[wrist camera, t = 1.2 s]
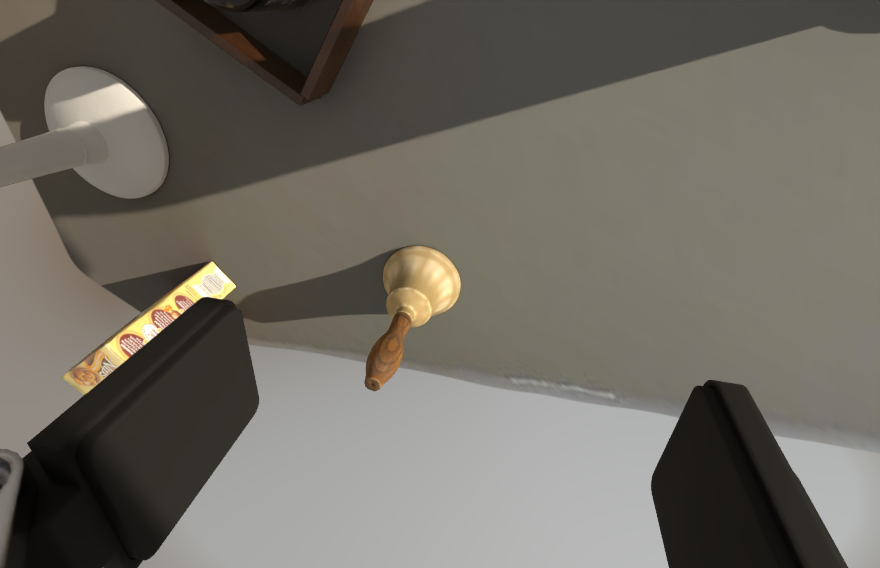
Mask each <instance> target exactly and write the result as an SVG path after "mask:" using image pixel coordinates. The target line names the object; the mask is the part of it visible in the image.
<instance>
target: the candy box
mask: <svg viewBox="0 0 880 568" xmlns="http://www.w3.org/2000/svg"><path fill="white" fill-rule="evenodd" d="M235 287H236V285H235V284H234V283H233V282H232V281H231V280H230V279H229V278H228V277H227V276H226V275H225V274H224V273H223V272H222V271H221V270H220V269H219V268H218V267H217V266H216V265H215V263H214V262H210V263H208V264H207V265H205V266H204V267H203V268H201V269H200V270H199V271H197V272H196V273H194V274H193V275H192V276H190V277H189V278H188V279H186V280H185V281H183V282H182V283H181V284H179V285H178V286H177V287H175V288H174V289H172V290H171V291H170V292H168V293H167V294H166V295H164V296H163V297H162V298H160V299H159V300H158V301H156V302H155V303H154V304H152V305H151V306H150V307H148V308H147V309H146V310H145V311H143V312H142V313H141V314H140V315H138V316H137V317H135V318H134V319H133V320H132V321H130V322H129V323H128V324H126V325H125V326H124V327H123V328H121V329H120V330H119V331H118V332H116V333H115V334H114V335H112V336H111V337H110V338H109V339H107V340H106V341H105V342H104V343H102V344H101V345H100V346H99V347H97V348H96V349H95V350H94V351H92V352H91V353H90V354H89V355H88V356H86V357H85V358H84V359H82V360H81V361H80V362H79V363H78V364H76V365H75V366H74V367H73V368H72V369H70V370H69V371H68V372H66V373H65V374H64V375H63V376H62V378H63V379H65V380H66V381H67V382H68V383H69V384H71V385H72V386H73V387H74V388H75V389H77V390H78V391H79V392H81V393H82V394H83V395H85V394H87V393H88V392H89V391H90V390H91V389H93V388H94V387H95V386H96V385H97V384H98V383H100V382H101V381H102V380H103V379H104V378H106V377H107V376H108V375H109V374H110V373H112V372H113V371H114V370H115V369H116V368H118V367H119V366H120V365H121V364H122V363H124V362H125V361H126V360H127V359H128V358H130V357H131V356H132V355H133V354H134V353H136V352H137V351H138V350H139V349H140V348H142V347H143V346H144V345H145V344H146V343H148V342H149V341H150V340H151V339H152V338H154V337H155V336H156V335H157V334H158V333H159V332H161V331H162V330H163V329H164V328H165V327H167V326H168V325H169V324H170V323H171V322H173V321H174V320H175V319H176V318H177V317H179V316H180V315H181V314H182V313H183V312H185V311H186V310H187V309H188V308H189V307H191V306H192V305H193V304H194V303H195V302H197V301H198V300H199V299H201V298H202V297H211V298H217V299H223V298H224V297H225V296H226V295H228V294H229V293H230V292H231V291H232V290H233V289H234V288H235Z"/></svg>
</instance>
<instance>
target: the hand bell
mask: <svg viewBox="0 0 880 568" xmlns="http://www.w3.org/2000/svg"><path fill="white" fill-rule="evenodd" d="M383 282H384V287H385V289H386V292H387V294H388V298H387V302H386V307H387V311H388V313H389V315H390V317H391V318H392V319H393V320H392V323H391V325H390V328H389V330H388V331H387V333H386V334H384V335H383V336H382V337H381V338H379V340H378V341H377V342H376V343H375V345H374V346H373V348H372V349H371V351H370V353H369V356H368V359H367V363H366V379H365V386H366V387H367V388H368V389H370V390H373V391H377V390H379V389H380V388H381V387H382V386H383V384H384V383H386V382H387V381H388V380H389V379H390V378H391V377H392V376H393V375H394V374H395V372H396V371H397V369H398V367H399V365H400V362H401V359H402V356H403V350H404V343H403V341H404V337H405V335H406V333H407V331H408V329H409V327H418V326H421V325H423V324H425V323H426V322H427V321H428V320H429V318H430V316H433V315H437V314H440V313H443V312H445V311H446V310H448V309H449V308H450V307H452V306H453V304H454V303H455V302H456V300H457V298H458V296H459V293H460V285H461V283H460V277H459V274H458V272H457V270H456V268H455V266H454V265H453V263H452V262H451V261H450V260H449V259H448V258H447V257H446V256H445V255H443V254H442V253H440V252H438V251H436V250H434V249H432V248H428V247H424V246H410V247H405V248H402V249H400V250H398V251H396V252H395V253H394V254H392V255H391V256H390V258H389V259H388V260H387V262H386V264H385V266H384V270H383Z"/></svg>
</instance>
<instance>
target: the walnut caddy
mask: <svg viewBox="0 0 880 568" xmlns="http://www.w3.org/2000/svg"><path fill="white" fill-rule="evenodd" d="M155 1H157V2H158V3H160V4H161V5H162V6H164V7H165V8H166V9H168V10H169V11H171V12H172V13H173V14H175V15H176V16H177V17H179V18H180V19H182V20H183V21H184V22H186V23H187V24H188V25H190V26H191V27H193V28H194V29H195V30H197V31H198V32H199V33H201V34H202V35H204V36H205V37H206V38H208V39H209V40H210V41H212V42H213V43H215V44H216V45H217V46H219V47H220V48H221V49H223V50H224V51H225V52H227V53H228V54H230V55H231V56H232V57H234V58H235V59H236V60H238V61H239V62H241V63H242V64H243V65H245V66H246V67H247V68H249V69H250V70H252V71H253V72H254V73H256V74H257V75H258V76H260V77H261V78H263V79H264V80H265V81H267V82H268V83H269V84H271V85H272V86H274V87H275V88H276V89H278V90H279V91H280V92H282V93H283V94H285V95H286V96H287V97H289V98H290V99H291V100H293V101H294V102H295V103H297V104H298V105H303V104H306V103H308V102H311V101H313V100H316V99H319V98H321V96H322V95H323V94H326V93H328V92H329V90H330V88H331V86H332V84H333V82H334V80H335V78H336V76H337V74H338V72H339V70H340V68H341V65H342V63H343V61H344V59H345V57H346V55H347V53H348V51H349V49H350V47H351V45H352V43H353V41H354V39H355V37H356V35H357V33H358V31H359V28H360V26H361V24H362V22H363V20H364V18H365V16H366V14H367V12H368V10H369V8H370V6H371V4H372V2H373V0H342V2H341V4H340V6H339V9H338V11H337V13H336V15H335V18H334V20H333V22H332V24H331V26H330V29H329V31H328V33H327V35H326V38H325V40H324V42H323V44H322V46H321V49H320V51H319V53H318V55H317V58H316V60H315V62H314V64H313V66H312V69H311V71H310V73H309V75H308V78H307V77H306V76H304V75H303V74H302V73H300V72H299V71H298V70H296V69H295V68H293V67H292V66H291V65H289V64H288V63H287V62H285V61H284V60H283V59H281V58H280V57H279V56H277V55H276V54H275V53H273V52H272V51H271V50H269V49H268V48H266V47H265V46H264V45H262V44H261V43H260V42H258V41H257V40H256V39H254V38H253V37H252V36H250V35H249V34H248V33H246V32H245V31H244V30H242V29H241V28H240V27H238V26H237V25H235V24H234V23H233V22H231V21H230V20H229V19H227V18H226V17H225V16H223V15H222V14H221V13H219V12H218V11H217V10H215V9H214V8H213V7H211V6H210V5H208V4H207V3H205V2H204V1H202V0H155Z"/></svg>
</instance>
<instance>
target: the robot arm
mask: <svg viewBox="0 0 880 568" xmlns="http://www.w3.org/2000/svg"><path fill="white" fill-rule="evenodd" d="M258 404H259V395H258V390H257V385H256V380H255V376H254V370H253V366H252V361H251V356H250V352H249V346H248V341H247V336H246V331H245V326H244V321H243V316H242V313H241V311H240V310H239V309H237V308H236V306H235V304H234V303H233V302H232V301H229V300H223V299H217V298H211V297H202V298H201V299H199V300H198V301H197V302H195V303H194V304H193V305H192V306H191V307H189V308H188V309H187V310H186V311H185V312H183V313H182V314H181V315H180V316H179V317H177V318H176V319H175V320H174V321H173V322H171V323H170V324H169V325H168V326H167V327H165V328H164V329H163V330H162V331H161V332H159V333H158V334H157V335H156V336H155V337H154V338H152V339H151V340H150V341H149V342H148V343H146V344H145V345H144V346H143V347H142V348H140V349H139V350H138V351H137V352H136V353H134V354H133V355H132V356H131V357H130V358H128V359H127V360H126V361H125V362H124V363H122V364H121V365H120V366H119V367H118V368H116V369H115V370H114V371H113V372H112V373H110V374H109V375H108V376H107V377H106V378H104V379H103V380H102V381H101V382H100V383H98V384H97V385H96V386H95V387H94V388H93V389H91V390H90V391H89V392H88V393H87V394H85V395H84V396H83V397H82V398H81V399H79V400H78V401H77V402H76V403H75V404H73V405H72V406H71V407H70V408H69V409H67V410H66V411H65V412H64V413H63V414H61V415H60V416H59V417H58V418H57V419H55V420H54V421H53V422H52V423H51V424H50V425H48V426H47V427H46V428H45V429H43V430H42V431H41V432H40V433H39V434H37V435H36V436H35V437H34V438H33V439H31V440H30V441H29V442H28V443H27V444H28V445H29V447H30V449H31V450H32V451H31V452H30V453H29V454H27V455H26V456H25V457H24V458H23V459H22V458H21V457H20V456H19V454H18V453H16V452H13V451H10V450H7V449H0V568H137V567H138V566H139V565H140V564H141V562H142V561H143V560H147V559H149V558H151V557H152V556H153V555H154V554H155V553H156V552H157V550H158V549H159V548H160V546H161V545H162V543H163V542H164V541H165V539H166V538H167V536H168V535H169V534H170V532H171V531H172V529H173V528H174V527H175V525H176V524H177V522H178V521H179V520H180V518H181V517H182V515H183V514H184V512H185V511H186V510H187V508H188V507H189V506H190V504H191V503H192V501H193V500H194V498H195V497H196V496H197V494H198V493H199V492H200V490H201V489H202V487H203V486H204V484H205V483H206V482H207V480H208V479H209V478H210V476H211V475H212V473H213V472H214V470H215V469H216V468H217V466H218V465H219V464H220V462H221V461H222V459H223V458H224V457H225V455H226V454H227V452H228V451H229V450H230V448H231V447H232V445H233V444H234V443H235V441H236V440H237V438H238V437H239V436H240V434H241V433H242V431H243V430H244V428H245V427H246V426H247V424H248V423H249V422H250V420H251V419H252V417H253V416H254V414H255V413H256V411H257V408H258ZM651 491H652V496H653V500H654V504H655V509H656V513H657V518H658V522H659V526H660V531H661V535H662V539H663V543H664V548H665V552H666V556H667V561H668V565H669V568H848V567H847V565H846V563H845V561H844V559H843V557H842V556H841V554H840V552H839V550H838V548H837V547H836V545H835V543H834V541H833V539H832V538H831V536H830V534H829V532H828V531H827V529H826V527H825V525H824V523H823V521H822V520H821V518H820V516H819V514H818V512H817V511H816V509H815V507H814V505H813V504H812V502H811V500H810V498H809V496H808V494H807V493H806V491H805V489H804V487H803V486H802V484H801V482H800V480H799V478H798V477H797V476H796V474H795V473H794V472H793V470H792V469H791V467H790V465H789V463H788V461H787V460H786V458H785V456H784V454H783V453H782V451H781V449H780V447H779V445H778V443H777V442H776V440H775V438H774V436H773V434H772V432H771V431H770V429H769V427H768V425H767V423H766V421H765V420H764V418H763V416H762V414H761V412H760V411H759V409H758V407H757V405H756V403H755V402H754V400H753V398H752V396H751V394H750V392H749V391H748V389H747V388H746V387H745V386H743V385H739V384H733V383H727V382H721V381H715V380H708V381H707V382H705V384H704V385H703V386H696V387H695V388H694V389H693V391H692V393H691V395H690V397H689V399H688V401H687V403H686V405H685V407H684V410H683V412H682V414H681V416H680V418H679V420H678V422H677V424H676V427H675V429H674V431H673V433H672V435H671V437H670V439H669V441H668V443H667V445H666V448H665V450H664V452H663V454H662V456H661V458H660V460H659V462H658V464H657V467H656V469H655V471H654V473H653V476H652V481H651Z"/></svg>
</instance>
